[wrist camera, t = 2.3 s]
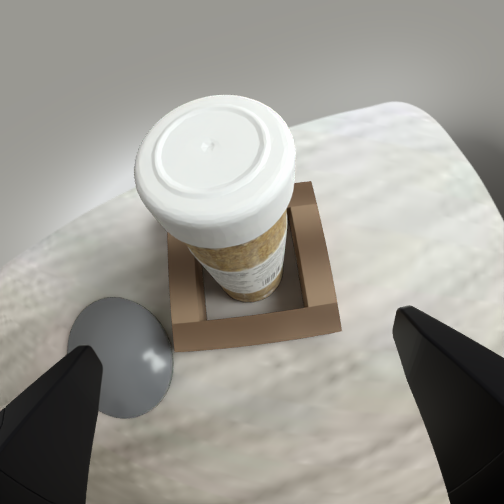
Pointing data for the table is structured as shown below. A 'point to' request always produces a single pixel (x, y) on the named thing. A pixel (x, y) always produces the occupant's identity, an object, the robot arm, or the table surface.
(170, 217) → the sprinkles bottle
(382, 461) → the table surface
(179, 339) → the square wooden frame
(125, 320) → the coaster
